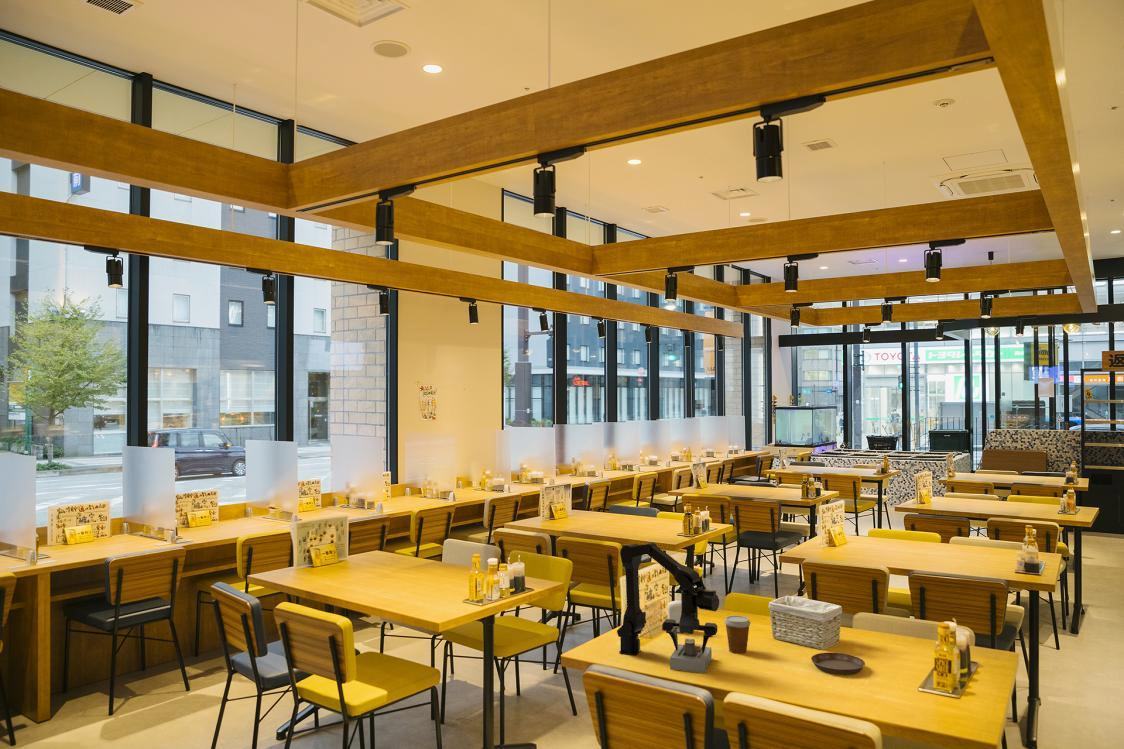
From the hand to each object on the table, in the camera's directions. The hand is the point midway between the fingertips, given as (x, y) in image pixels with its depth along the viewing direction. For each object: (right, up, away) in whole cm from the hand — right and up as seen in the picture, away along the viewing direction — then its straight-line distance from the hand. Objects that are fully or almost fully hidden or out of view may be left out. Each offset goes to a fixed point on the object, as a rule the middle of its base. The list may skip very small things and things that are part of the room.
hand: (690, 651), depth 264 cm
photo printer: (+3, -7, +42) cm, 43 cm away
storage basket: (+50, -7, +28) cm, 58 cm away
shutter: (+2, -1, +6) cm, 6 cm away
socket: (+1, -5, +2) cm, 5 cm away
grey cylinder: (0, -5, 0) cm, 5 cm away
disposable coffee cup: (+21, -6, +16) cm, 27 cm away
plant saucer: (+51, -5, -3) cm, 51 cm away
